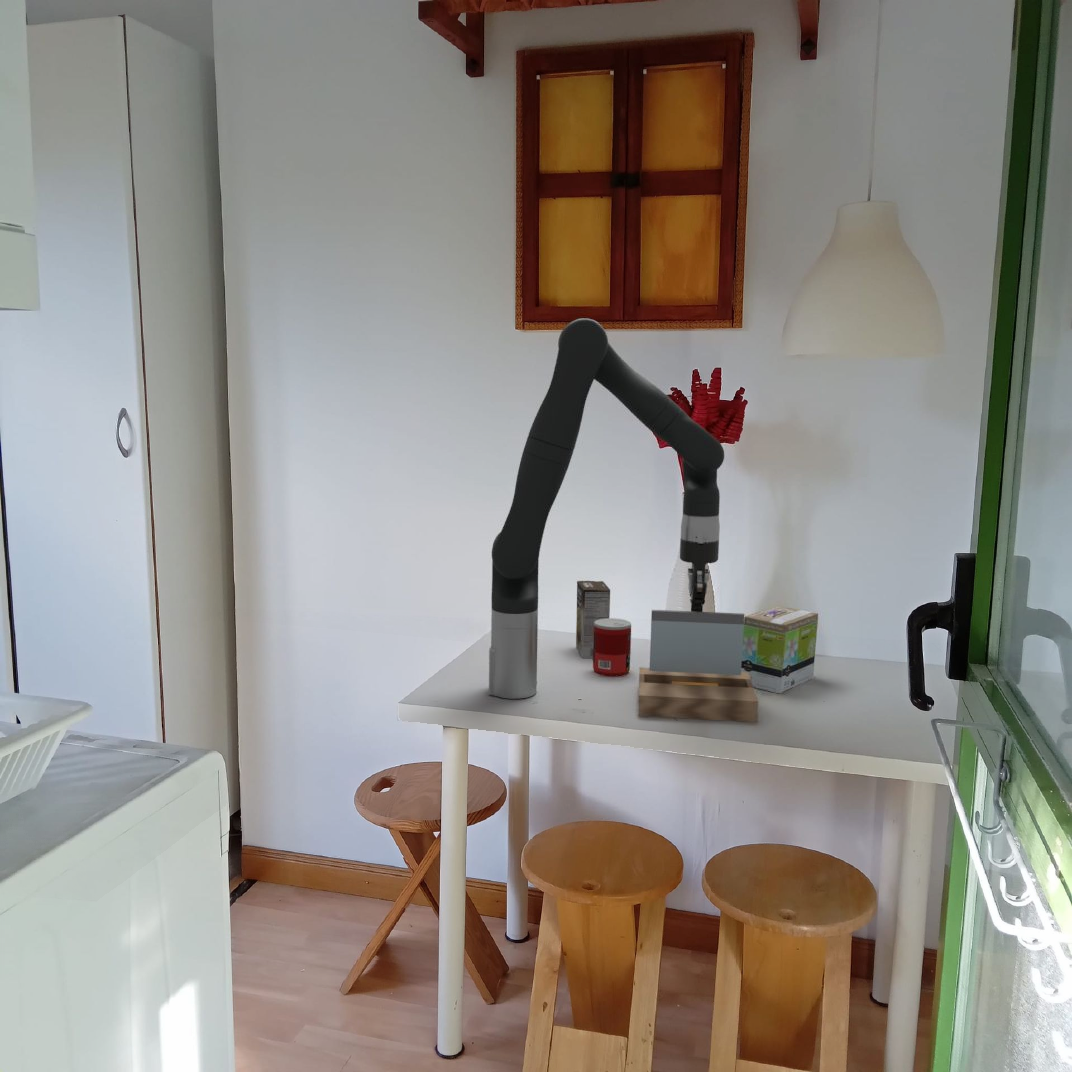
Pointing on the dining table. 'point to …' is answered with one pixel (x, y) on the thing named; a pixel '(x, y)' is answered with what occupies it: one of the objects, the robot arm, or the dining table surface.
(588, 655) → the coffee box
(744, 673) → the wooden tray
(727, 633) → the cover
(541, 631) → the dining table surface
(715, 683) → the tall orange dowel
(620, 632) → the canned food
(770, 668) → the tea box
